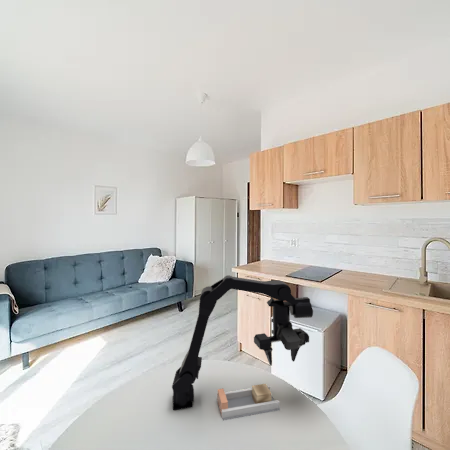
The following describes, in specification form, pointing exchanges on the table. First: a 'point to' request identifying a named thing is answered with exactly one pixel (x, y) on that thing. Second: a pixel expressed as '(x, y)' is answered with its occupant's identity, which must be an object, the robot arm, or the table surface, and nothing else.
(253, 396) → the tan block
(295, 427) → the table surface
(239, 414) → the channel
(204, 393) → the table surface
